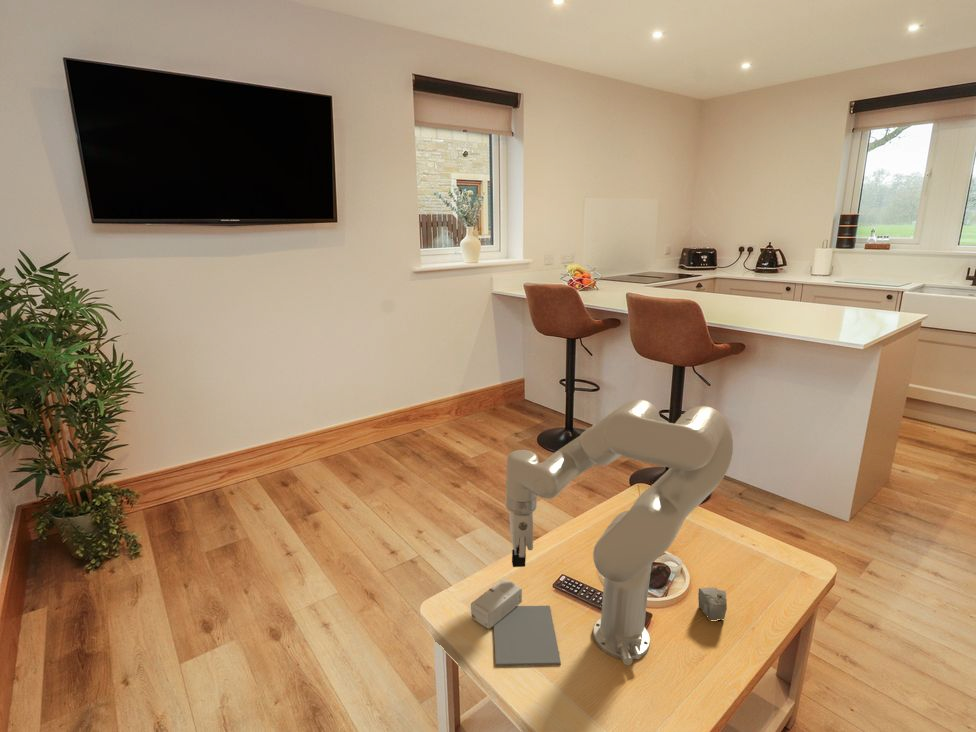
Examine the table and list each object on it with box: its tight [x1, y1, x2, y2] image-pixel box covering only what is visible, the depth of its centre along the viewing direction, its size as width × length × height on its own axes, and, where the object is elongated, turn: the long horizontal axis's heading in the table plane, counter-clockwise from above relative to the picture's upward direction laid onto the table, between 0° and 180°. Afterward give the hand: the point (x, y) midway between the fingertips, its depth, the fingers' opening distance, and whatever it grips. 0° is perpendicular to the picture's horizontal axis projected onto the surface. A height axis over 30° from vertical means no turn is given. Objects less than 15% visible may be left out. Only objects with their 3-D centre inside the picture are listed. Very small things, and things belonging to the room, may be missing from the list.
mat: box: [493, 605, 562, 667], centre depth 120 cm, size 17×14×1 cm
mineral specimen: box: [697, 587, 728, 621], centre depth 125 cm, size 7×9×8 cm
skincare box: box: [470, 578, 523, 630], centre depth 127 cm, size 6×4×12 cm
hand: (518, 564), depth 131 cm, fingers closed
